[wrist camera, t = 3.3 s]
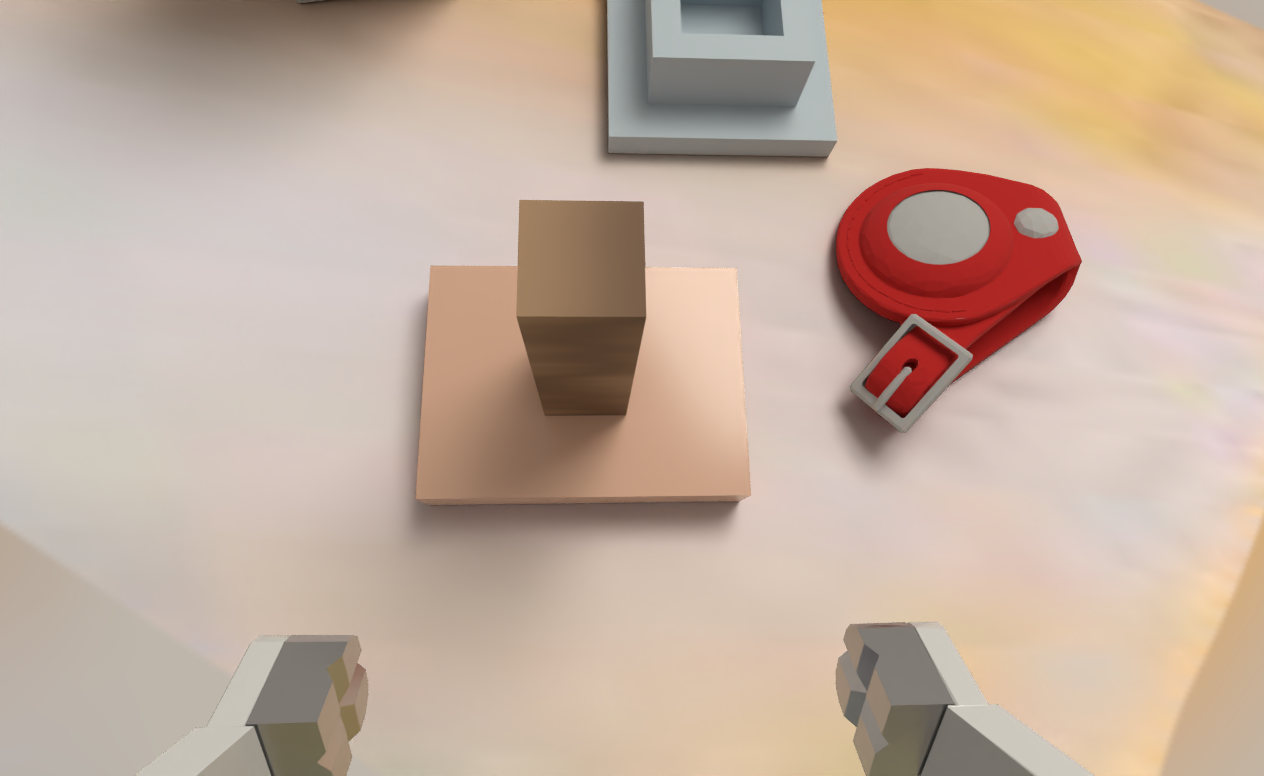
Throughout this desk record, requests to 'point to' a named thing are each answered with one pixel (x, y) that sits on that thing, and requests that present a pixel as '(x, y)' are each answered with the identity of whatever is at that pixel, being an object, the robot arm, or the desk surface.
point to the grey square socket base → (719, 78)
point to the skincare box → (305, 0)
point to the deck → (582, 445)
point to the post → (582, 302)
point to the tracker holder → (949, 276)
